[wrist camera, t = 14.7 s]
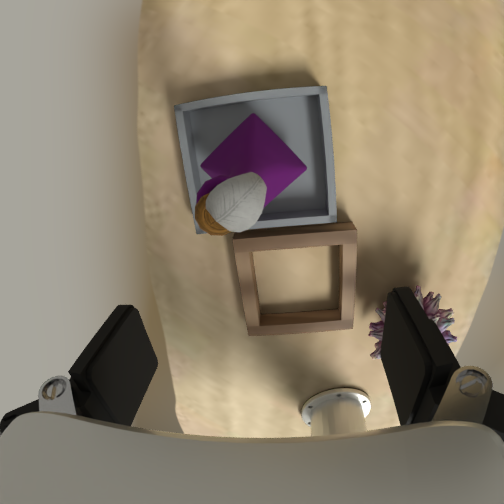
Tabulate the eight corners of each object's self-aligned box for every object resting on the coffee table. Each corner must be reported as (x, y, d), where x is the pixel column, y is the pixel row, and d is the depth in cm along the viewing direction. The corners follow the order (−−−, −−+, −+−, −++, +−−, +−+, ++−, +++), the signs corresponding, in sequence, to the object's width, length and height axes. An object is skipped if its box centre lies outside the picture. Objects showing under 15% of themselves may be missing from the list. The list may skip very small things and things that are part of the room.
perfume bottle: (255, 208, 34) (230, 301, 18) (206, 161, 32) (132, 212, 16) (305, 163, 31) (333, 217, 15) (256, 112, 29) (226, 106, 13)
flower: (362, 346, 42) (378, 410, 31) (356, 279, 37) (379, 341, 26) (432, 328, 40) (461, 384, 29) (436, 260, 35) (479, 312, 24)
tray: (332, 213, 34) (336, 222, 31) (203, 224, 36) (196, 234, 33) (322, 88, 28) (326, 85, 25) (182, 106, 30) (173, 105, 27)
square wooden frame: (349, 317, 40) (352, 328, 37) (250, 324, 41) (248, 336, 39) (352, 222, 34) (357, 229, 32) (235, 231, 36) (232, 239, 34)
